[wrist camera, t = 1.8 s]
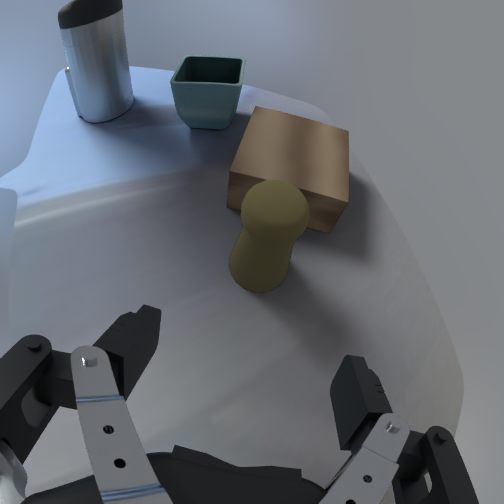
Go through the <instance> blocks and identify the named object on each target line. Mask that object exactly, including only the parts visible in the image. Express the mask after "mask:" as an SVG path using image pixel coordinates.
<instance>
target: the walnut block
mask: <svg viewBox="0 0 504 504" xmlns="http://www.w3.org/2000/svg"><path fill="white" fill-rule="evenodd" d="M348 136H349V133H348V131H346V130H343V129H340V128H337V127H334V126H330V125H327V124H324V123H320V122H317V121H314V120H310V119H306V118H303V117H299V116H295V115H291V114H288V113H284V112H280V111H275V110H271V109H267V108H262V107H258V106H255V109H254V111H253V113H252V116H251V118H250V121H249V123H248V125H247V128H246V130H245V133H244V135H243V138H242V140H241V143H240V145H239V148H238V150H237V153H236V155H235V158H234V161H233V163H232V166H231V168H230V171H229V183H228V195H227V207H229V208H233V209H237V210H241V206H242V201H243V199H244V197H245V196H246V194H247V192H248V191H249V190H250V189H251V188H252V187H253V186H255V185H256V184H258V183H261V182H263V181H266V180H281V181H285V182H288V183H290V184H292V185H294V186H295V187H296V188H298V189H299V190H300V191H301V192H302V194H303V195H304V196H305V198H306V200H307V203H308V205H309V213H310V217H309V222H308V225H307V228H311V229H314V230H318V231H322V232H325V233H330V231H331V230H332V228H333V226H334V225H335V223H336V222H337V220H338V218H339V217H340V215H341V214H342V212H343V210H344V209H345V207H346V205H347V204H348V198H349V137H348Z"/></svg>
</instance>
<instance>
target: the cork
mask: <svg viewBox="0 0 504 504" xmlns="http://www.w3.org/2000/svg"><path fill="white" fill-rule="evenodd" d="M309 217H310V213H309V205H308V203H307V200H306V198H305V196H304V195H303V194H302V192H301V191H300V190H299V189H298V188H296V187H295V186H294V185H292V184H290V183H288V182H285V181H281V180H266V181H263V182H261V183H258V184H256V185H255V186H253V187H252V188H251V189H250V190H249V191H248V192H247V194H246V196H245V197H244V199H243V201H242V206H241V219H242V222H243V228H242V230H241V233H240V235H239V237H238V240H237V242H236V244H235V247H234V249H233V251H232V254H231V256H230V262H229V268H230V272H231V275H232V277H233V278H234V280H235V281H236V282H237V283H238V284H239V285H240V286H241V287H243V288H244V289H247V290H249V291H252V292H260V293H263V292H268V291H272V290H273V289H275V288H277V287H278V286H280V284H281V283H282V282H283V281H284V280H285V277H286V274H287V271H288V267H289V262H290V258H291V253H292V248H293V244H294V241H296V240H297V239H298V238H299V237H300V236H301V235H302V234H303V233H304V231H305V230H306V228H307V225H308V222H309Z"/></svg>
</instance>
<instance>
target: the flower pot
mask: <svg viewBox="0 0 504 504" xmlns="http://www.w3.org/2000/svg"><path fill="white" fill-rule="evenodd" d="M245 61H246V60H245V59H244V58H237V57H222V56H195V55H189V56H184V57H183V59H182V61H181V63H180V64H179V66H178V68H177V70H176V71H175V73H174V75H173V77H172V79H171V81H170V83H171V88H172V93H173V98H174V102H175V107H176V110H177V113H178V115H179V116H180V118H181V119H182V120H183V122H184V123H185V124H187V125H188V126H189V127H191V128H208V129H224V128H226V127H227V126H228V125H229V123H230V122H231V121H232V119H233V117H234V115H235V112H236V109H237V105H238V101H239V96H240V92H241V88H242V84H243V73H244V66H245Z"/></svg>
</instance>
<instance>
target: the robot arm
mask: <svg viewBox="0 0 504 504" xmlns="http://www.w3.org/2000/svg"><path fill="white" fill-rule="evenodd" d="M122 7H123V5H122V0H73V1H71V2H69V3H68V4H66V5H65V6H64V7H63V8H62V9H61V10H60V11H59V13H58V21H59V27H60V31H61V36H62V40H63V45H64V50H65V54H66V58H67V62H68V67H67V68H66V70H65V74H66V77H67V81H68V84H69V88H70V91H71V95H72V98H73V101H74V105H75V108H76V111H77V114H78V116H82V117H83V118H84V120H86V121H88V122H93V123H98V122H105V121H108V120H111V119H114V118H116V117H118V116H120V115H122V114H123V113H125V112H126V111H127V110H128V109H129V108H130V107H131V106H132V104H133V102H134V97H133V90H132V84H131V77H130V70H129V63H128V55H127V47H126V38H125V28H124V18H123V8H122ZM160 321H161V310H160V309H157V308H154V307H151V306H148V305H143V306H142V307H141V308H140V309H139V310H138V311H137V313H136V314H135V313H132V312H128V313H126V314H123V315H121V316H120V317H119V318H118V319H117V320H116V321H115V322H114V324H112V325H111V326H110V327H109V329H107V330H106V331H105V333H104V334H103V335H102V336H101V337H100V338H99V339H98V340H97V341H96V342H95V343H94V344H93V346H81V347H78V348H77V349H75V350H74V351H73V352H72V353H65V352H60V351H55V350H52V347H51V343H50V341H49V340H48V339H47V338H45V337H44V336H41V335H28V336H25V337H23V338H22V339H20V340H19V341H18V342H17V343H16V344H15V345H14V346H13V347H12V348H11V349H10V350H9V351H8V352H7V353H6V354H5V355H4V356H3V357H2V358H0V504H379V503H380V501H381V500H382V498H383V496H384V494H385V492H386V491H387V489H388V487H389V485H390V483H391V481H392V486H393V491H394V496H395V502H396V504H479V502H478V499H477V496H476V494H475V491H474V488H473V485H472V483H471V480H470V477H469V475H468V472H467V470H466V467H465V465H464V462H463V460H462V457H461V455H460V453H459V450H458V448H457V446H456V443H455V441H454V439H453V436H452V435H451V433H450V432H449V431H448V430H446V429H445V428H443V427H440V426H432V427H430V428H429V429H428V430H427V432H426V433H425V434H423V433H419V432H415V431H412V430H410V427H409V424H408V423H407V421H406V420H405V419H403V418H402V417H401V416H399V415H396V414H393V412H392V409H391V407H390V404H389V402H388V399H387V397H386V395H385V393H384V390H383V387H381V386H382V385H381V382H380V380H379V378H378V376H377V375H376V374H375V373H374V372H373V371H372V370H371V369H368V367H367V364H366V362H365V359H364V358H363V357H359V356H353V355H346V356H345V357H344V359H343V361H342V363H341V365H340V367H339V369H338V371H337V373H336V375H335V377H334V379H333V381H332V384H331V388H330V396H331V401H332V406H333V411H334V417H335V422H336V427H337V433H338V438H339V444H340V450H349V451H351V453H352V454H351V456H350V457H349V458H348V459H347V461H346V462H345V463H344V464H343V466H342V467H341V468H340V470H339V471H338V472H337V473H336V475H335V476H334V477H333V478H332V480H331V481H330V482H329V483H328V485H327V486H326V487H325V488H324V489H323V488H322V487H321V486H319V485H317V484H316V483H314V482H312V481H309V480H307V479H304V478H302V476H301V469H294V468H285V467H277V466H259V467H237V466H234V465H232V464H229V463H227V462H224V461H222V460H220V459H218V458H215V457H213V456H211V455H209V454H207V453H203V452H199V451H195V450H191V449H188V448H184V447H181V446H177V445H175V446H174V449H173V452H172V453H171V452H155V453H148V454H146V453H145V451H144V449H143V446H142V444H141V442H140V439H139V437H138V434H137V432H136V429H135V427H134V424H133V422H132V419H131V416H130V414H129V411H128V408H127V405H126V400H127V398H128V396H129V395H130V393H131V391H132V390H133V388H134V386H135V385H136V383H137V381H138V380H139V378H140V376H141V375H142V373H143V371H144V370H145V368H146V366H147V365H148V363H149V361H150V360H151V358H152V356H153V355H154V353H155V351H156V348H157V345H158V340H159V331H160ZM59 406H61V407H66V408H71V409H76V410H78V414H79V419H80V424H81V428H82V432H83V437H84V441H85V445H86V449H87V452H88V456H89V460H90V463H91V466H92V470H93V473H94V474H93V475H91V476H88V477H85V478H83V479H80V480H77V481H74V482H71V483H68V484H65V485H62V486H59V487H56V488H53V489H49V490H46V491H42V492H39V493H35V494H33V495H30V496H29V497H27V498H26V496H25V487H26V484H27V473H26V471H25V469H24V467H23V466H22V465H23V463H24V461H25V460H26V458H27V457H28V455H29V453H30V452H31V450H32V448H33V447H34V445H35V443H36V442H37V440H38V439H39V437H40V436H41V434H42V432H43V431H44V429H45V428H46V426H47V425H48V423H49V422H50V420H51V418H52V417H53V415H54V414H55V412H56V411H57V409H58V408H59ZM428 472H429V474H430V478H431V481H432V489H431V491H430V493H429V492H428V488H427V485H426V481H425V478H424V475H425V474H426V473H428Z"/></svg>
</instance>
